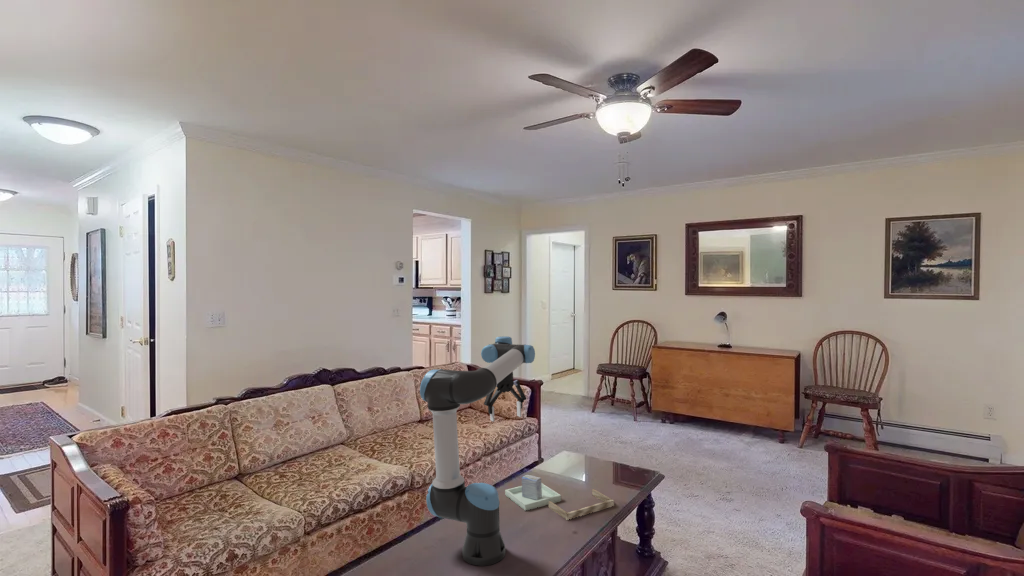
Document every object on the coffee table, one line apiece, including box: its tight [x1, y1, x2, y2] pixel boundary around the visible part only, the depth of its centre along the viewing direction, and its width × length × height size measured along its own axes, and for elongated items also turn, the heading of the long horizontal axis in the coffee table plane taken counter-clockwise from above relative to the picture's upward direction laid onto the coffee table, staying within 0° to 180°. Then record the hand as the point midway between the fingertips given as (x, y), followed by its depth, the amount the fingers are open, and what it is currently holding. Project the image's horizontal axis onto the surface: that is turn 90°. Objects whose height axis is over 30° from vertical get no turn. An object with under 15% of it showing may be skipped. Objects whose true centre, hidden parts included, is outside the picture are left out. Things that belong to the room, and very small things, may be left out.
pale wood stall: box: [548, 488, 615, 521], centre depth 209 cm, size 24×14×2 cm, turn 119°
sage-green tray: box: [504, 482, 562, 512], centre depth 219 cm, size 18×18×2 cm
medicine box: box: [521, 474, 542, 500], centre depth 219 cm, size 8×4×9 cm, turn 54°
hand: (505, 418), depth 222 cm, fingers open, 13 cm apart
